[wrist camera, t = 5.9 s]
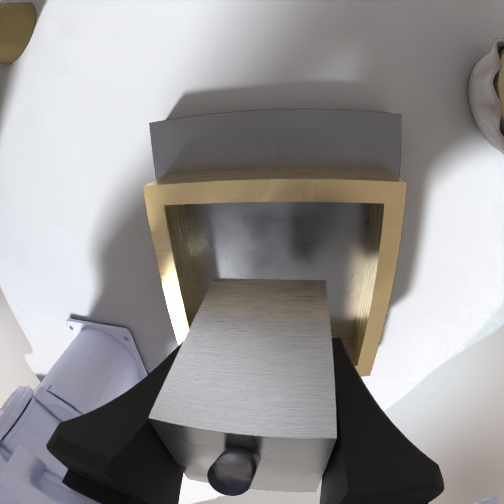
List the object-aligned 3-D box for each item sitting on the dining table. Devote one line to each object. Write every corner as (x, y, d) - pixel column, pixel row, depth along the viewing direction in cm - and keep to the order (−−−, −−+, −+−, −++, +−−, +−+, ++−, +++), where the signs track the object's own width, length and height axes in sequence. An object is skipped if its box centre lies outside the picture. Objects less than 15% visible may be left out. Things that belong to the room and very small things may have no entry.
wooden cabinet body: (361, 357, 22) (367, 401, 18) (203, 352, 24) (187, 392, 20) (389, 113, 14) (419, 115, 10) (164, 121, 16) (125, 126, 12)
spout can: (318, 359, 14) (312, 527, 6) (226, 355, 15) (178, 510, 7) (325, 278, 12) (337, 493, 4) (213, 275, 12) (125, 462, 5)
